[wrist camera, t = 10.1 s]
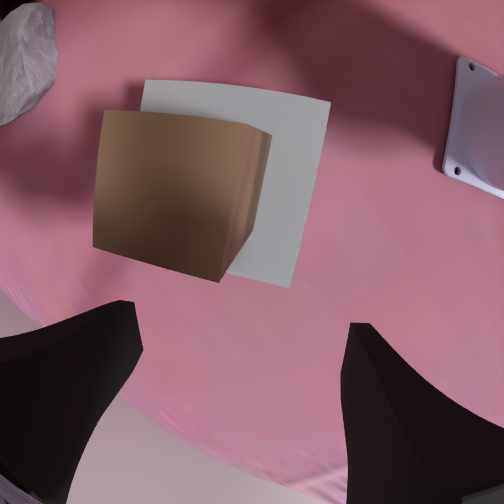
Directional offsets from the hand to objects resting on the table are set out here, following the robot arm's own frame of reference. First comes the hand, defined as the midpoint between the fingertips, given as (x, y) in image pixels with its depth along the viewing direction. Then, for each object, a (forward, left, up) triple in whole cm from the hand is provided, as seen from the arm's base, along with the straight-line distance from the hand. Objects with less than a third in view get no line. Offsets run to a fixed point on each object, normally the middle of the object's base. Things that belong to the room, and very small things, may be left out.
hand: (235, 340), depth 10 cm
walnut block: (+3, -4, -6) cm, 8 cm away
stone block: (+25, -11, -10) cm, 29 cm away
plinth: (+3, -4, -10) cm, 11 cm away
